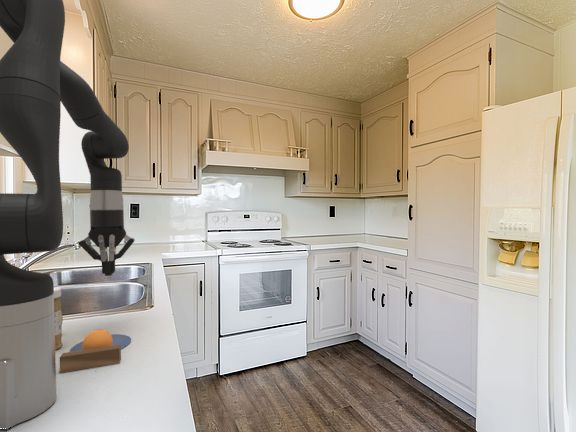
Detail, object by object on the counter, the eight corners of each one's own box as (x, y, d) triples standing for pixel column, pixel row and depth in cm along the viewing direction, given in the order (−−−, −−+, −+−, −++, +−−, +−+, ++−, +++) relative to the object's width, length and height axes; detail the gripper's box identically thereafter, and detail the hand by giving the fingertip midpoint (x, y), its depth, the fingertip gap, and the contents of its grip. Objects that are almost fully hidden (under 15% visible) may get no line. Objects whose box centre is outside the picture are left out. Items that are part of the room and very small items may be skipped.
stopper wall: (63, 368, 61) (62, 352, 61) (121, 358, 65) (120, 344, 64) (60, 373, 59) (59, 357, 59) (119, 363, 63) (119, 348, 63)
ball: (102, 366, 65) (99, 353, 62) (77, 357, 65) (73, 344, 62) (119, 342, 70) (117, 329, 66) (96, 334, 70) (92, 321, 66)
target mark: (108, 359, 64) (108, 358, 64) (55, 356, 66) (55, 355, 66) (141, 335, 76) (141, 335, 76) (96, 334, 78) (96, 333, 78)
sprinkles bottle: (44, 345, 72) (42, 287, 71) (66, 343, 72) (65, 286, 72) (32, 354, 67) (30, 292, 67) (55, 352, 68) (54, 290, 68)
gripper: (136, 208, 87) (138, 270, 87) (81, 209, 82) (82, 274, 82) (134, 208, 80) (135, 275, 80) (72, 208, 75) (74, 280, 75)
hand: (108, 275), depth 81 cm, fingers closed
